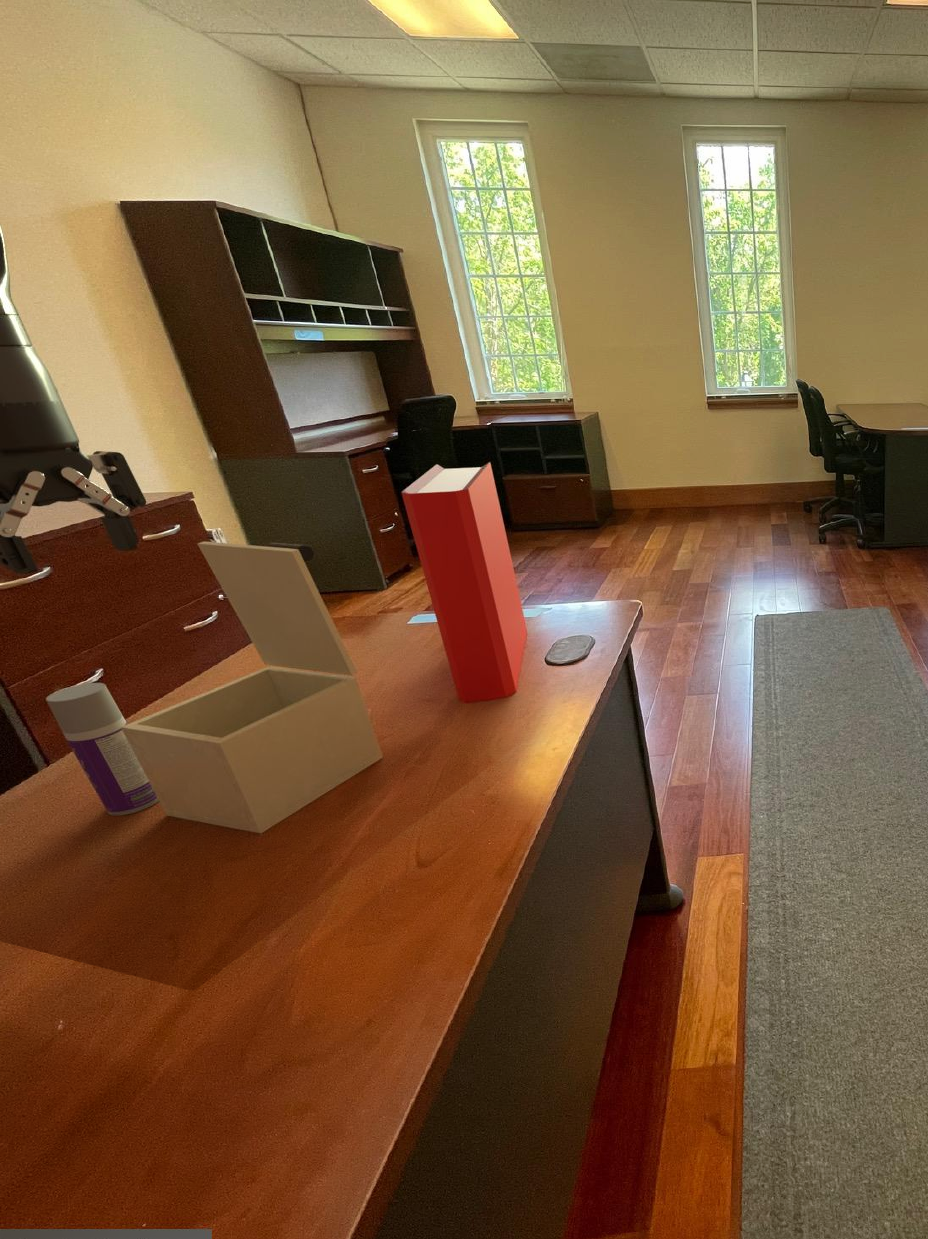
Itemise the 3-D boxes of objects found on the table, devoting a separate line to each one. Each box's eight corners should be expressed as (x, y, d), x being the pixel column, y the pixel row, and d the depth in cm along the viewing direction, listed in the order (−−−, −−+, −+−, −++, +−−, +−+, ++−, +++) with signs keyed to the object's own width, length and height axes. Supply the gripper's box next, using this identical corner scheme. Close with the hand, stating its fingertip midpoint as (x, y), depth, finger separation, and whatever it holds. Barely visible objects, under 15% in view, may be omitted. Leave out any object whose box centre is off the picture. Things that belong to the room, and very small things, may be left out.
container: (97, 812, 77) (32, 699, 71) (145, 788, 81) (88, 680, 75) (126, 818, 76) (63, 704, 70) (173, 794, 80) (118, 684, 74)
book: (480, 638, 125) (436, 464, 112) (527, 632, 127) (490, 461, 114) (457, 704, 101) (398, 494, 88) (515, 695, 104) (466, 490, 91)
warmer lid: (291, 551, 74) (334, 534, 79) (196, 543, 77) (243, 527, 82) (352, 675, 83) (387, 654, 87) (264, 664, 86) (303, 644, 90)
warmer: (260, 833, 74) (219, 743, 69) (166, 815, 77) (120, 727, 72) (383, 757, 88) (356, 677, 83) (300, 744, 91) (268, 666, 86)
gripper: (63, 392, 70) (129, 541, 77) (-144, 400, 58) (-44, 578, 64) (120, 394, 69) (182, 546, 76) (-78, 403, 57) (17, 584, 63)
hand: (79, 560), depth 70 cm, fingers open, 8 cm apart
